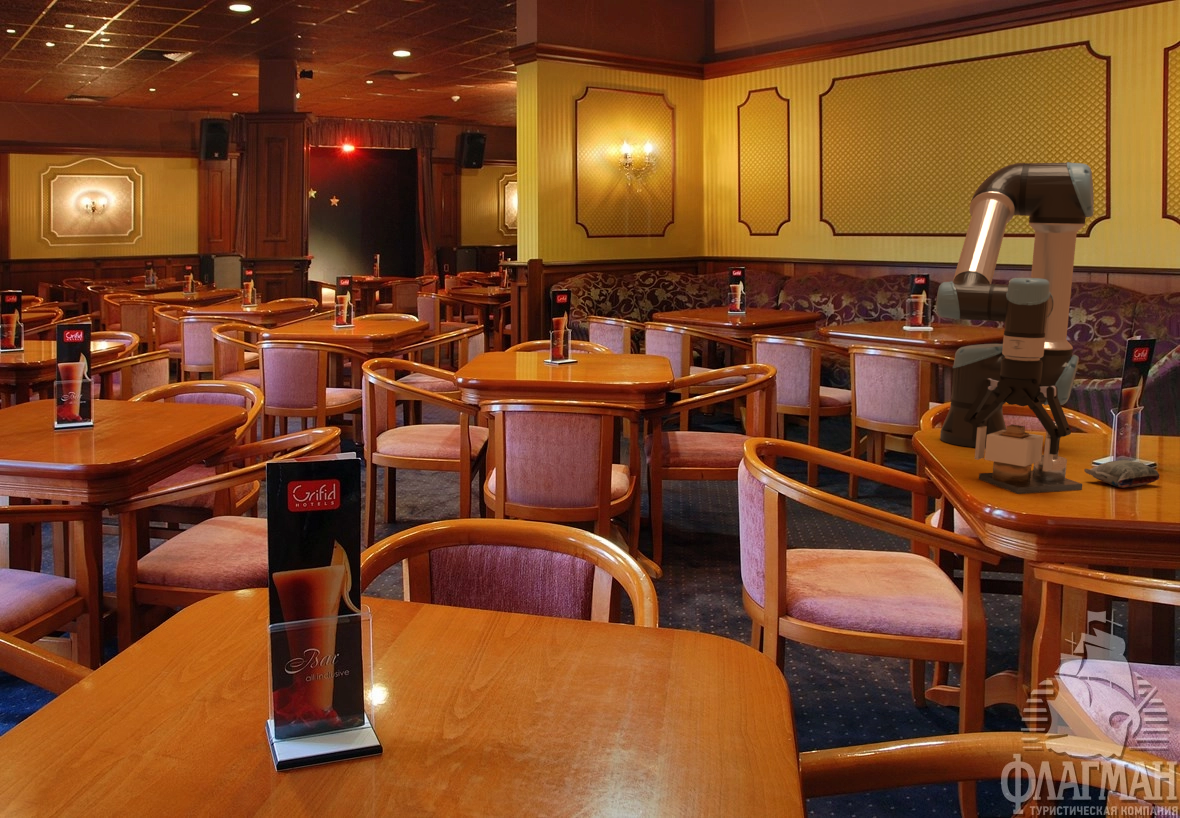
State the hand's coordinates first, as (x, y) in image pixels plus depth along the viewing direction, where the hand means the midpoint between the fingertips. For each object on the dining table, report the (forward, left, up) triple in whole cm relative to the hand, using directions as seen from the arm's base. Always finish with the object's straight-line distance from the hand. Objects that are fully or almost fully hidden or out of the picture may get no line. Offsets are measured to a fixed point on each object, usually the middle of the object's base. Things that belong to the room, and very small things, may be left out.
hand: (1012, 464), depth 214 cm
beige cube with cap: (0, 0, +1) cm, 1 cm away
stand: (-7, +6, -3) cm, 9 cm away
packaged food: (-16, +18, -5) cm, 24 cm away
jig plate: (-3, +3, -4) cm, 6 cm away
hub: (0, 0, -3) cm, 3 cm away
